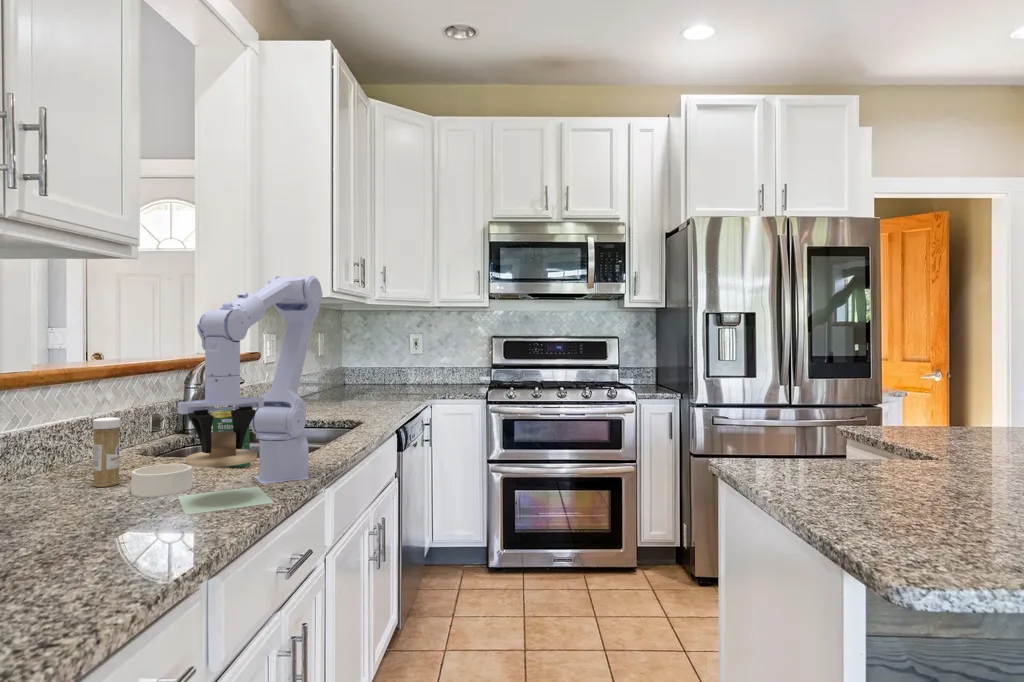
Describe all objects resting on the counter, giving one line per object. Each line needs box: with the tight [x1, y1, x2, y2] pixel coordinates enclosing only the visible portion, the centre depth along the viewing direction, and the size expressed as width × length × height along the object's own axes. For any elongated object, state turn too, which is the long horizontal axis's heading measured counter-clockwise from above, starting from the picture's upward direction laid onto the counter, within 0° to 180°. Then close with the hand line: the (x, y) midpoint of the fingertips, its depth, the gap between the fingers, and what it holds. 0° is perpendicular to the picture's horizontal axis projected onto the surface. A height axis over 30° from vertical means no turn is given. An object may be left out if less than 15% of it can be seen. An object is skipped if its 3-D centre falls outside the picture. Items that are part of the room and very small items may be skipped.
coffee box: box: [211, 410, 251, 469], centre depth 141 cm, size 8×3×13 cm, turn 81°
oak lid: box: [185, 431, 258, 468], centre depth 110 cm, size 12×12×5 cm
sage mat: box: [177, 485, 275, 516], centre depth 110 cm, size 14×14×1 cm
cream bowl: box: [130, 463, 193, 498], centre depth 117 cm, size 10×10×4 cm
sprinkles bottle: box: [92, 416, 121, 488], centre depth 122 cm, size 5×5×14 cm
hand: (222, 450), depth 110 cm, fingers closed on oak lid, 5 cm apart
